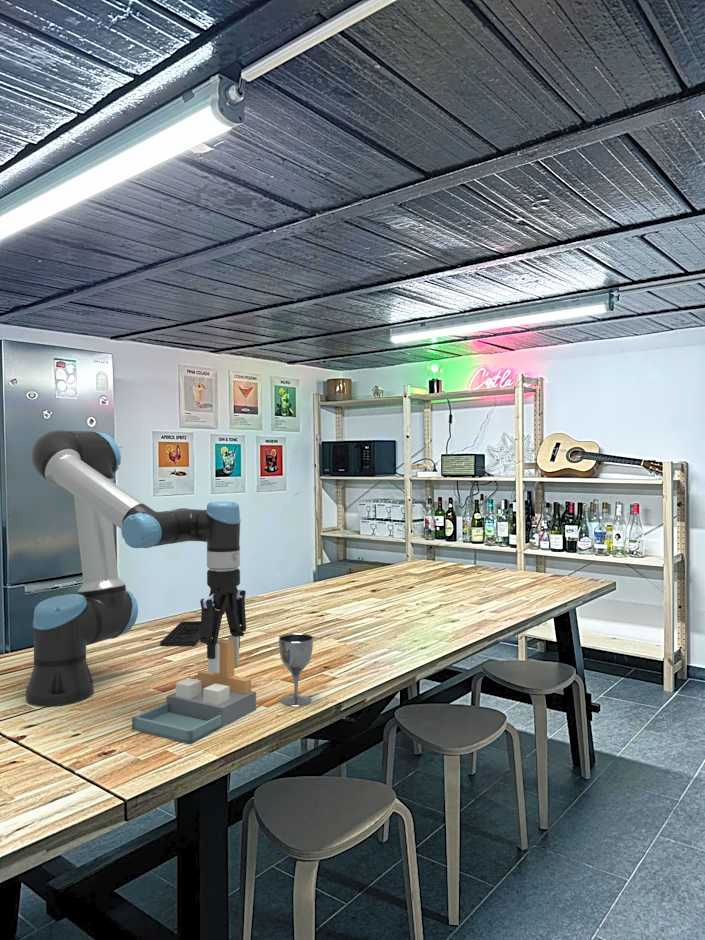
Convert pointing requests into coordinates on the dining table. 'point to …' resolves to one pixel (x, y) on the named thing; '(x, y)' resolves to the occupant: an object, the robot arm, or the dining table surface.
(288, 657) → the wine glass
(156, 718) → the blue-grey flat tray
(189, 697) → the white cube block
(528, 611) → the dining table surface
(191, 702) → the grey drawer housing
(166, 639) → the black shallow tray
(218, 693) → the white rectangular block
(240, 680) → the orange t-shaped block
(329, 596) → the dining table surface
